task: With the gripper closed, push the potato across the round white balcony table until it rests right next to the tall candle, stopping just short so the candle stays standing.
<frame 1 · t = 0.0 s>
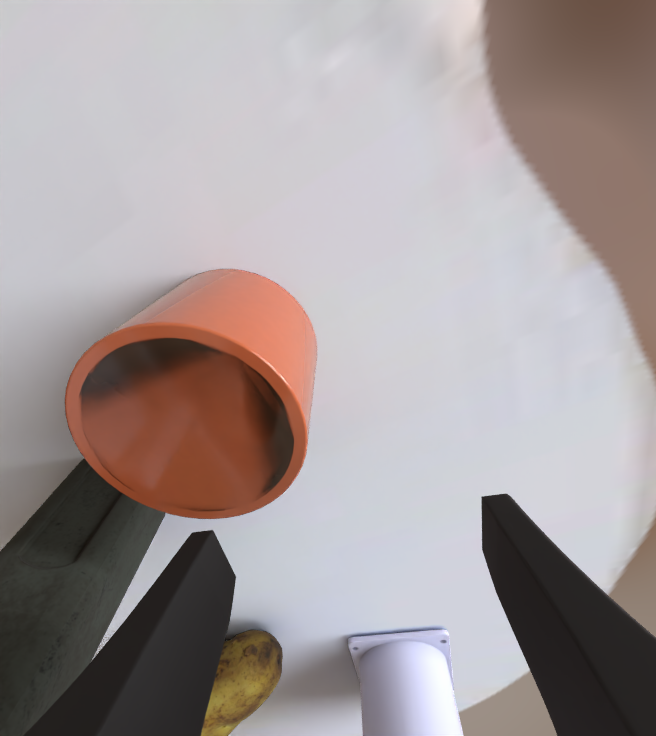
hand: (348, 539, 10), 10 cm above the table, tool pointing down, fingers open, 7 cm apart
potato: (218, 643, 31), on the table
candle: (125, 488, 23), on the table
flower pot: (237, 349, 19), on the table
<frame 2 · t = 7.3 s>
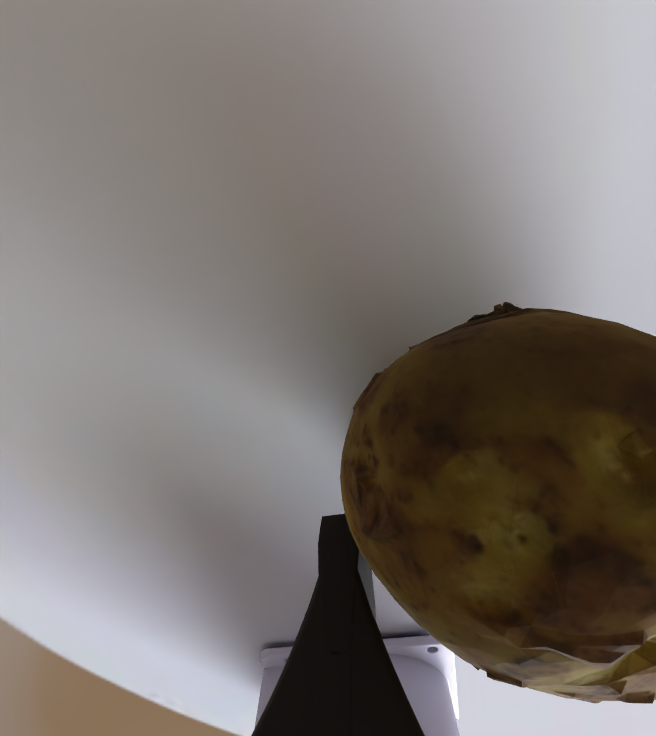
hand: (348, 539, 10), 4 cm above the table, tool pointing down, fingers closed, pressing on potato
potato: (459, 446, 13), on the table, touching gripper
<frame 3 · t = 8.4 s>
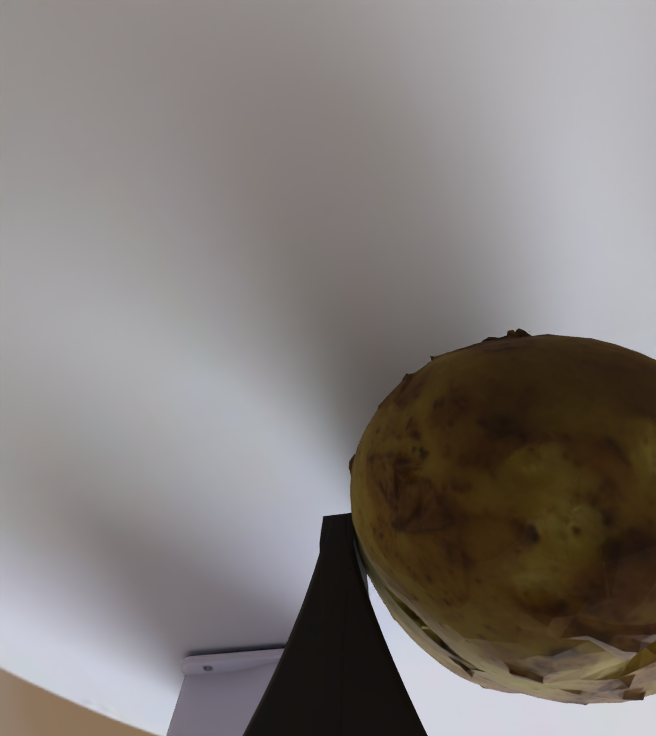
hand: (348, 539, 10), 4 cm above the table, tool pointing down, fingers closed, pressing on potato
potato: (432, 465, 14), on the table, touching gripper
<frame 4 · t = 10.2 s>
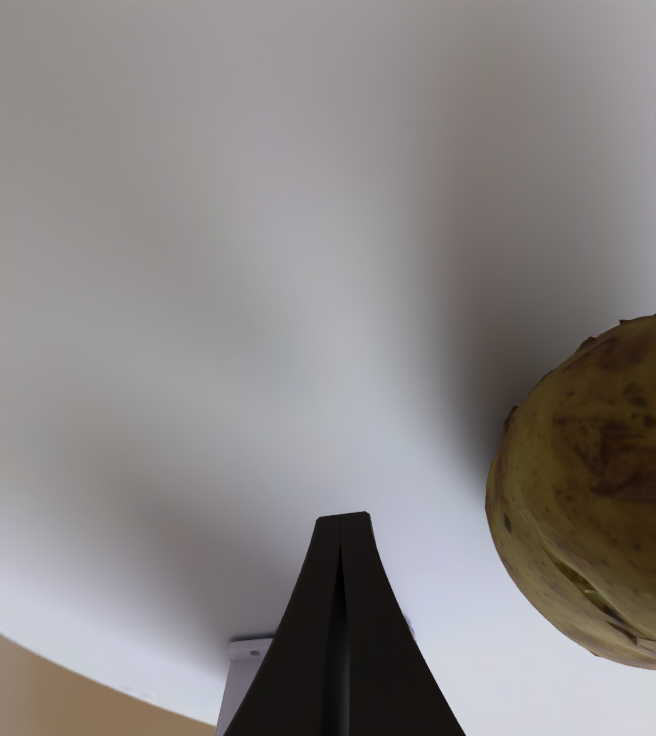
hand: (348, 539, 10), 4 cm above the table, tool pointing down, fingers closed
potato: (560, 435, 13), on the table
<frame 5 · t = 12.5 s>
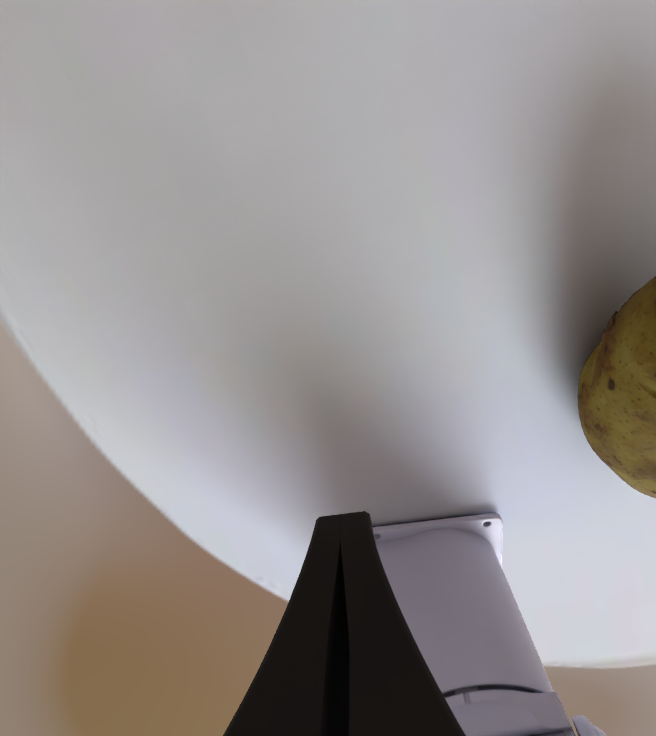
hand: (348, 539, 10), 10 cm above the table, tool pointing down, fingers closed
potato: (626, 351, 19), on the table
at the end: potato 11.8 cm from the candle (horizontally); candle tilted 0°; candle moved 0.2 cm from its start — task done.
